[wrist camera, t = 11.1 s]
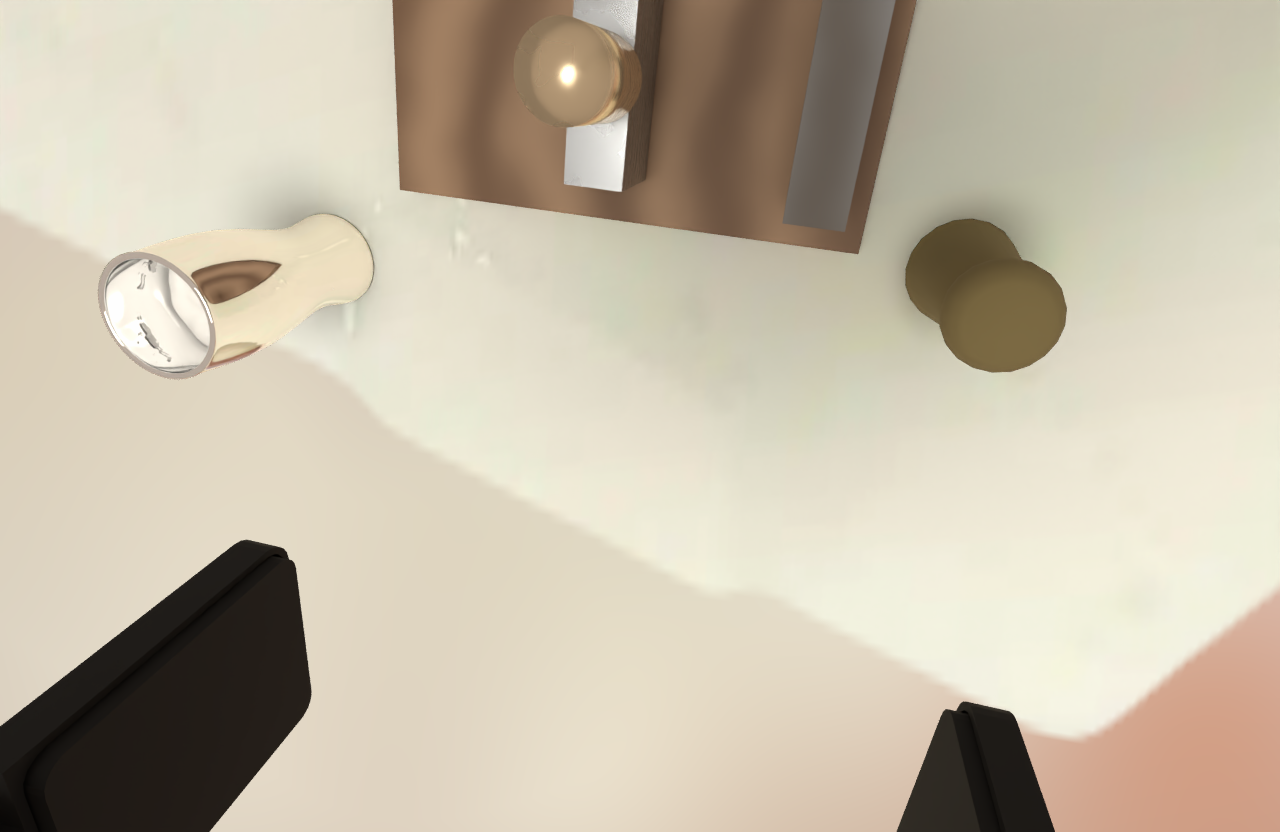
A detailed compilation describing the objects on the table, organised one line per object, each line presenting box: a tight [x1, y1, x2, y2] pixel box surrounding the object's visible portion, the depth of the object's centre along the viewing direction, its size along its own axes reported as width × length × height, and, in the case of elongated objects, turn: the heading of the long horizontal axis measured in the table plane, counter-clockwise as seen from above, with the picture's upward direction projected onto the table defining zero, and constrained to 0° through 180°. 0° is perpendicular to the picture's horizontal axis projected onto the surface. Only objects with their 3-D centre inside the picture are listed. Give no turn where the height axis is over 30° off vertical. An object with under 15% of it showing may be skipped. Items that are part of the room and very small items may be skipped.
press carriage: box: [514, 0, 663, 192], centre depth 33 cm, size 4×10×12 cm, turn 175°
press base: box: [393, 0, 917, 254], centre depth 37 cm, size 28×15×8 cm, turn 85°
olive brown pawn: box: [905, 219, 1067, 372], centre depth 36 cm, size 6×6×11 cm
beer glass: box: [98, 214, 373, 379], centre depth 42 cm, size 7×7×15 cm
